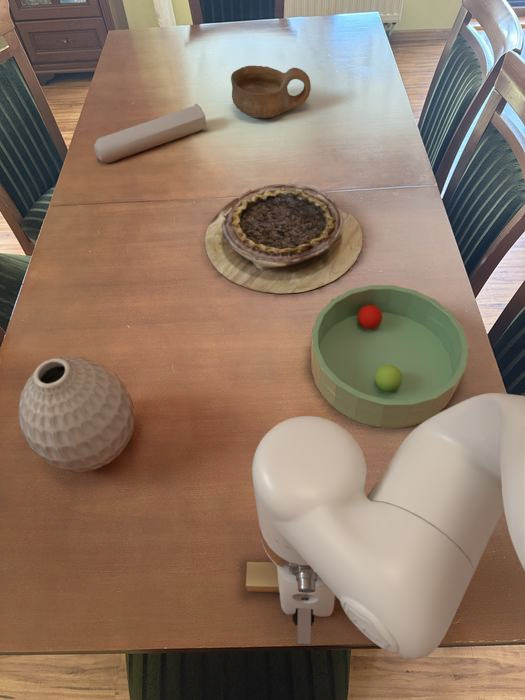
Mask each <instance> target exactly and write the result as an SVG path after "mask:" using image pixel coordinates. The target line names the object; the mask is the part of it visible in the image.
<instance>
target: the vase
mask: <svg viewBox="0 0 525 700" xmlns="http://www.w3.org/2000/svg"><path fill="white" fill-rule="evenodd" d="M21 390H22V391H21V393H20V397H19V402H18V420H19V426H20V430H21V434H22V435H23V438H24V439H25V442H26V443H27V444H28V446H29V447H30V449H31V450H32V451H33V452H34V453H35V454H36V455H37V456H38V457H39V458H40V459H41V460H43V461H44V462H45V463H47V464H48V465H50V466H53V467H54V468H58V469H60V470H63V471H67V472H76V473H77V472H79V473H80V472H81V473H83V472H91V471H94V470H98V469H100V468H103V467H105V466H107V465H108V464H110V463H112V462H113V461H115V460H116V459H117V458H118V457H119V456H120V455H121V454H122V453H123V451H124V450H125V449H126V447H127V446H128V445H129V442H130V440H131V437H132V435H133V433H134V428H135V406H134V402H133V400H132V396H131V393H130V391H129V389H128V388H127V386H126V384H125V383H124V381H123V380H122V379H121V378H120V376H118V374H117V373H115V372H114V371H113V370H112V369H110V368H109V367H108V366H107V365H104V364H102V363H100V362H98V361H96V360H94V359H90V358H87V357H82V356H63V357H52V358H49V359H47V360H44V361H43V362H41V363H40V364H39V365H37V367H36V368H35V370H34V372H33V373H32V374H31V375H30V376H29V377H28V379H27V381H26V382H25V384H24V386H23V387H22V389H21Z"/></svg>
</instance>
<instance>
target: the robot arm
mask: <svg viewBox="0 0 525 700" xmlns="http://www.w3.org/2000/svg"><path fill="white" fill-rule="evenodd" d="M366 463H367V462H366V459H365V455H364V452H363V450H362V449H361V446H360V444H359V443H358V442H357V440H356V438H355V437H354V436H353V435H352V434H351V433H350V432H349V431H348V430H347V429H346V428H345V427H344V426H342V425H340V424H339V423H337V422H335V421H334V420H331V419H328V418H325V417H321V416H316V415H300V416H299V415H298V416H295V417H290V418H288V419H285V420H283V421H281V422H279V423H277V424H276V425H274V426H273V427H272V428H271V429H270V430H269V431H267V432H266V434H265V435H264V436H263V437H262V438H261V439H260V442H259V444H258V445H257V447H256V449H255V451H254V455H253V457H252V464H251V478H252V485H253V494H254V498H255V506H256V513H257V519H258V525H259V533H260V539H261V543H262V547H263V549H264V551H265V553H266V556H267V557H268V558H269V559H270V560H271V562H273V563H274V564H276V565H277V574H278V584H279V592H278V593H279V601H280V607H281V610H282V611H283V612H284V613H285V615H287V616H288V615H292V623H293V624H294V626H296V628H297V629H296V631H297V632H296V636H297V637H296V639H297V640H296V641H297V645H303V646H304V645H306V646H311V645H312V626H313V624H314V623H315V617H318V618H319V617H320V618H321V617H330V616H331V615H332V613H333V612H334V607H335V600H336V599H338V600H339V601H340V606H341V608H342V610H343V612H344V613H345V615H346V616H347V618H348V619H349V620H350V621H351V622H352V624H353V625H354V626H355V627H356V628H357V629H358V630H359V631H360V632H361V633H362V634H363V635H364V636H365V637H366V638H367V639H369V640H370V641H371V642H372V643H374V644H375V645H376V646H378V647H379V648H381V649H383V650H384V651H386V652H389V653H392V654H397V655H399V656H400V657H403V658H407V659H412V660H419V659H420V660H421V659H423V658H426V657H428V656H430V655H432V653H434V652H435V651H436V650H437V648H438V647H439V646H440V645H441V644H442V642H443V640H444V639H445V636H446V635H447V633H448V630H449V629H450V627H451V626H452V625H451V624H452V622H453V620H454V618H455V616H456V613H457V611H458V609H459V607H460V605H461V602H462V601H463V598H464V596H465V594H466V592H467V589H468V587H469V585H470V583H471V582H472V579H473V576H474V575H475V573H476V570H477V567H478V565H479V563H480V561H481V559H482V556H483V554H484V552H485V550H486V548H487V546H488V543H489V541H490V540H491V537H492V535H493V533H494V531H495V529H496V527H497V524H498V523H499V521H500V518H501V516H502V514H503V512H504V518H505V520H506V524H507V529H508V534H509V537H510V540H511V543H512V546H513V548H514V551H515V553H516V555H517V558H518V560H519V562H520V564H521V566H522V569H523V571H524V572H525V395H519V394H511V393H503V392H490V393H489V392H488V393H482V394H479V395H474V396H472V397H469V398H467V399H464V400H462V401H460V402H458V403H456V404H453V405H452V406H450V407H448V408H446V409H443V410H441V411H440V412H439V413H438V414H436V415H434V416H433V417H431V418H429V419H428V420H426V421H424V422H422V423H420V424H418V425H417V426H416V427H415V428H414V429H413V430H412V431H411V432H410V433H409V434H407V436H406V437H405V438H404V439H403V441H402V442H401V443H400V444H399V446H398V448H397V449H396V450H395V453H394V454H393V455H392V457H391V458H390V460H389V462H388V463H387V464H386V465H385V467H384V469H383V471H382V472H381V474H380V475H379V477H378V478H377V480H376V482H375V484H374V485H373V487H372V488H371V489H370V491H369V493H368V494H367V495H366V492H365V491H366V490H365V489H366V484H367V476H368V475H367V474H368V472H367V471H368V470H367V464H366Z"/></svg>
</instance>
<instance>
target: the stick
mask: <svg viewBox="0 0 525 700" xmlns="http://www.w3.org/2000/svg"><path fill="white" fill-rule="evenodd" d="M245 588H246V591H247V592H249V593H250V592H251V593H279V584H278V574H277V565H276V564H274V563H273V562H272V561H246V573H245Z"/></svg>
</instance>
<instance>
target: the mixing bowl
mask: <svg viewBox="0 0 525 700" xmlns="http://www.w3.org/2000/svg"><path fill="white" fill-rule="evenodd" d="M367 305H373V306H376V307H378V308H379V309H380V311H381V313H382V321H381V323H380V325H379V326H378V327H376V328H374V329H366V328H364V327H362V326H361V325H360V324H359V322H358V313H359V311H360V310H361V308H363V307H364V306H367ZM469 353H470V347H469V343H468V341H467V337H466V333H465V329H464V328H463V326H462V325H461V324H460V322H459V321H458V320H457V318H456V317H455V315H454V313H452V312H451V311H450V310H449V309H447V307H445V306H444V305H442V304H441V302H439V301H437V300H436V299H435V298H433V297H430V296H429V295H426V294H424V293H421V292H419V291H418V290H415V289H411V288H406V287H402V286H398V285H392V284H379V285H377V284H376V285H375V284H372V285H371V284H369V285H365V286H362V287H357V288H353V289H349V290H347V291H345V292H344V293H341V294H340V295H338V296H336V297H334V298H332V299H331V300H330V301H329V302H328V303H327V304H326V306H325V307H324V308H323V309H322V310H321V311H320V312H319V313H318V314H317V317H316V320H315V323H314V325H313V327H312V332H311V349H310V359H311V363H310V366H311V367H310V368H311V373H312V377H313V381H314V383H315V386H316V388H317V389H318V391H319V393H320V394H321V396H322V397H323V398H324V399H325V400H326V401H327V403H329V405H330V406H331V407H333V408H334V409H335V410H336V411H338V412H339V413H340V414H342V415H344V416H345V417H347V418H349V419H351V420H353V421H355V422H357V423H359V424H360V423H361V424H364V425H366V426H370V427H375V428H380V429H403V428H408V427H412V426H416V425H420V424H421V423H423V422H424V421H426V420H428V419H429V418H431V417H433V416H434V415H436V414H438V413H440V412H442V411H443V410H444V408H446V406H447V405H448V404H449V402H450V401H451V399H452V397H453V396H454V394H455V393H456V391H457V389H458V387H459V385H460V382H461V380H462V378H463V376H464V374H465V372H466V369H467V366H468V358H469ZM384 365H393V366H395V367H397V368H398V369H399V370H400V372H401V374H402V383H401V385H400V386H399V387H398V388H397V389H396V390H394V391H384V390H382V389H380V388H379V387H378V386H377V384H376V382H375V374H376V372H377V370H378V369H379V368H380V367H382V366H384Z"/></svg>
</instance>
